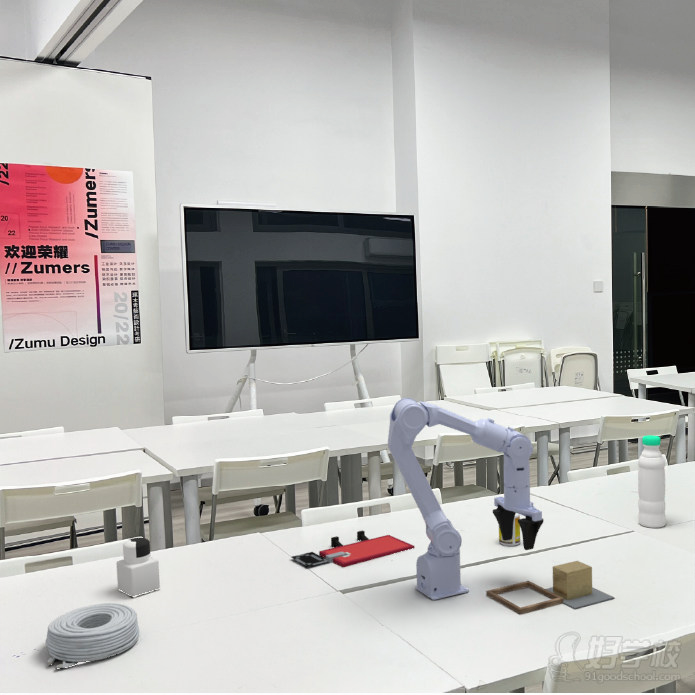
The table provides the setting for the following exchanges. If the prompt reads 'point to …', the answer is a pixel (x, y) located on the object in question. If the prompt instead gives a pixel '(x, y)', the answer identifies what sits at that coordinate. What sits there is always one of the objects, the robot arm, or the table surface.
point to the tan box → (572, 580)
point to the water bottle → (651, 484)
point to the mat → (586, 599)
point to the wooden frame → (529, 608)
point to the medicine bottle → (137, 568)
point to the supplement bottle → (516, 533)
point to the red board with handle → (355, 551)
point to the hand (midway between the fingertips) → (517, 544)
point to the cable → (91, 633)
